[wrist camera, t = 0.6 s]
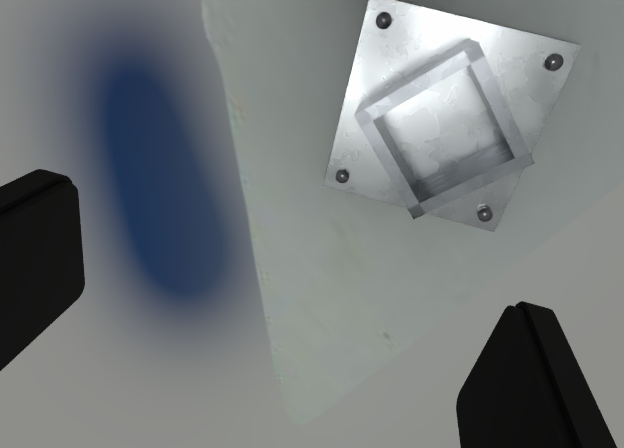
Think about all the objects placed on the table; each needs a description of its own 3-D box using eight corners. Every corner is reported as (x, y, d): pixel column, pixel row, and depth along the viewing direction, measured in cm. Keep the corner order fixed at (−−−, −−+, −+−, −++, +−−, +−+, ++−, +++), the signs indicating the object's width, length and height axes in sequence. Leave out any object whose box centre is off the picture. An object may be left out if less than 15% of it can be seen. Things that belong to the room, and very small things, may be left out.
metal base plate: (370, -6, 34) (365, -9, 29) (577, 44, 33) (611, 51, 28) (324, 181, 41) (313, 206, 36) (492, 227, 40) (506, 259, 35)
